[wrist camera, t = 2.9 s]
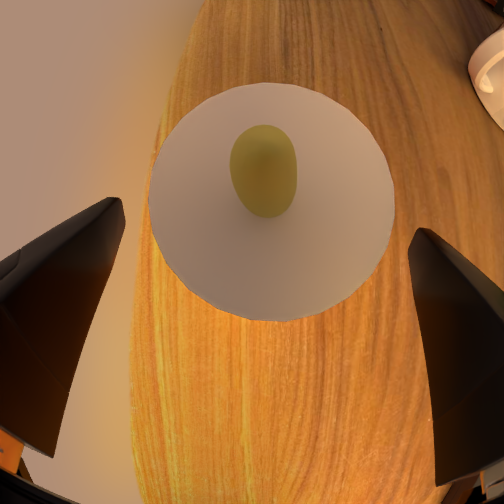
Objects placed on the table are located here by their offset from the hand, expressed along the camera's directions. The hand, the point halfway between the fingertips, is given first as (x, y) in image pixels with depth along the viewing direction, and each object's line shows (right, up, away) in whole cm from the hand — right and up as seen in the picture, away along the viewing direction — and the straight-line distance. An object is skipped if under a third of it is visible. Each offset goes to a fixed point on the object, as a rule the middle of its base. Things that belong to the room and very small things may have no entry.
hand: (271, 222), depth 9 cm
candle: (0, 0, +9) cm, 9 cm away
